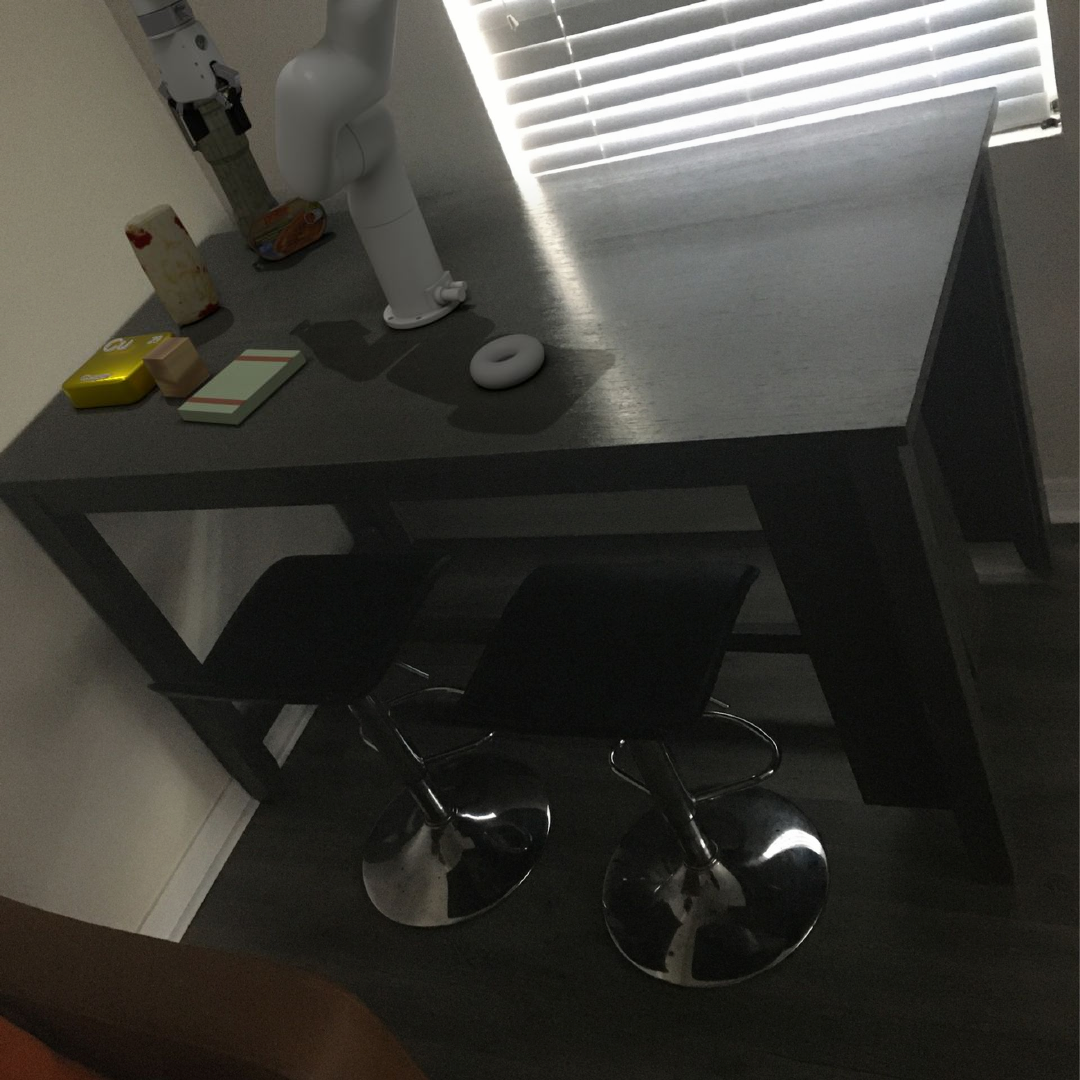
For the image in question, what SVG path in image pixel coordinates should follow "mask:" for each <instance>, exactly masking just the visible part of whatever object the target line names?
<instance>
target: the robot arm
mask: <svg viewBox="0 0 1080 1080" xmlns="http://www.w3.org/2000/svg"><path fill="white" fill-rule="evenodd" d="M128 2H129V5H130V6H131V9H132V10H133V13H134V15H135V17H136V19H137V20H138V23H139V25H140V26H141V29H142V31H143V33H144V34H145V36H146V40H147V43H148V46H149V49H150V53H151V55H152V57H153V60H154V62H155V65H156V67H157V70H158V72H159V74H160V77H161V78H162V81H161V83H160V85H159V86H158V88H157V89H158V92H159V93H160V95H161V96H162V97H163V98H164V99H165V100H166V101H167V105H168V104H169V105H170V106H171V107H172V108H174V109H175V110H176V112H177V114H178V115H179V116H180V118H181V119H182V121H183V123H184V125H185V127H186V129H187V131H188V133H189V135H190V137H191V139H192V141H193V142H197V141H199V140H201V139H202V138H204V137H206V136H207V135H209V133H210V131H209V129H208V127H207V125H206V123H205V121H204V119H203V117H202V115H201V113H200V111H199V109H198V108H196V109H194V107H195V101H201V100H207V99H211V98H214V97H215V98H216V99H217V100H218V101H219V102H220V103H222V104H223V105H224V106H225V107H226V108H227V109H226V110H224V111H225V113H226V116H227V118H228V120H229V122H230V124H231V126H232V128H233V130H234V132H235V134H236V135H237V136H239V135H242V134H243V133H245V134H246V132H248V131H249V130H251V129H252V128H253V127H252V126H253V125H252V123H251V120H250V118H249V116H248V114H247V112H246V109H245V108H244V106H243V103H242V102H243V96H242V94H243V87H242V82H241V75H240V72H239V71H237V70H235V69H233V68H231V67H228V65H227V62H226V61H225V59H224V57H223V55H222V53H221V51H220V49H219V48H218V46H217V44H216V42H215V41H214V39H213V38H212V35H211V34H210V33H209V32H208V30H207V28H206V26H205V25H204V24H203V23H202V21H201V20H200V19H197V18H196V17H195V14H194V11H193V9H192V7H191V6H190V3H189V1H188V0H128ZM399 3H400V0H327V1H326V23H325V30H324V34H323V36H322V38H321V39H320V40H319V41H318V42H317V43H315V45H313V46H312V47H310V48H308V49H307V50H305V51H303V52H301V53H300V54H298V55H297V56H295V57H293V58H292V59H291V60H290V61H289V62H287V63H286V64H285V65H284V67H282V70H281V71H280V73H279V75H278V78H277V81H276V84H275V92H274V93H275V94H274V95H275V96H274V105H275V106H274V108H275V111H274V112H275V113H274V114H275V116H274V117H275V155H276V161H277V164H278V166H277V167H278V169H279V173H280V175H281V178H282V179H283V181H284V183H285V186H286V187H287V188H288V189H289V190H290V191H291V192H292V193H293V194H294V195H295V197H299V198H301V199H303V200H306V201H310V202H319V203H320V202H322V201H323V202H324V201H325V200H327V199H330V198H331V197H333V196H335V195H337V194H338V193H339V192H341V191H342V190H344V189H345V188H346V202H347V208H348V212H349V214H350V217H351V220H352V222H353V224H354V227H355V229H356V232H357V233H358V236H359V239H360V240H361V243H362V245H363V247H364V250H365V252H366V254H367V256H368V259H369V261H370V263H371V266H372V268H373V270H374V272H375V275H376V278H377V280H378V282H379V284H380V287H381V289H382V291H383V293H384V296H385V298H386V300H387V302H388V305H387V306H386V307H385V309H384V311H383V319H384V322H385V324H386V325H387V326H388V327H389V328H392V329H394V330H395V329H396V330H409V329H410V330H411V329H415V328H418V327H423V326H425V325H428V324H431V323H433V322H436V321H438V320H440V319H441V318H443V317H445V316H447V315H448V314H450V313H451V312H452V311H453V310H454V309H456V308H457V307H458V306H459V305H460V303H461V302H464V301H465V300H466V297H467V293H466V291H467V289H468V284H467V282H466V281H465V280H461V281H454V278H453V277H452V275H451V271H450V270H444V268H443V266H442V263H441V260H440V258H439V255H438V253H437V250H436V247H435V245H434V242H433V239H432V237H431V234H430V233H429V230H428V227H427V224H426V222H425V219H424V216H423V213H422V212H421V208H420V207H419V204H418V201H417V198H416V195H415V193H414V191H413V188H412V185H411V183H410V180H409V176H408V174H407V171H406V168H405V164H404V160H403V157H402V152H401V151H402V150H401V148H400V142H399V137H398V136H399V135H398V130H397V127H396V125H395V124H396V123H395V121H394V118H393V116H392V115H391V113H390V111H389V110H388V108H387V107H386V106H385V105H384V103H383V102H382V101H381V100H382V99H383V98H384V97H385V96H386V95H388V92H389V90H390V86H391V83H392V76H393V66H394V57H395V45H396V36H397V22H398V11H399ZM225 94H227V96H226V95H225Z"/></svg>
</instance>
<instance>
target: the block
mask: <svg viewBox="0 0 1080 1080" xmlns="http://www.w3.org/2000/svg"><path fill="white" fill-rule="evenodd" d="M142 360H143V362H144V363H145V365H146V367H147V368H148V370H149V372H150V373H151V375H152V376H153V378H154V380H155V381H156V383H157V385H156V386H157V387H158V388H159V390H160V391H161V393H162V395H163V396H164V397H165V398H166V397H167V398H184V399H185V398H186V397H188V396H189V395H190V394H191V393H193V392H194V391H195V390H197V388H198V387H199V386H201V385H202V384H203V383H204V382H205V381H207V380H208V379H209V378H210V377H211V373H210V372H209V370H208V369H207V367H206V365H205V363H204V361H203V360H202V358H201V356H200V354H199V353H198V350H197V349H196V347H195V346H194V344H193V342H192V340H191V339H190V337H179V336H178V337H176V336H175V337H168V338H167V339H166V340H164V341H163V342H162V343H161V344H159V345H158V346H157V347H156V348H154V349H153V350H152V351H151V352H149V353H148V354H147V355H146V356H144V357H143V358H142Z"/></svg>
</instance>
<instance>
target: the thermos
mask: <svg viewBox="0 0 1080 1080" xmlns="http://www.w3.org/2000/svg"><path fill="white" fill-rule="evenodd" d="M167 106H168V108H169V110H170V112H171V114H172V116H173V118H174V120H175V122H176V124H177V125H178V128H179V130H180V131H181V134H182V136H183V138H184V139H185V141H186V143H187V145H188V146H189V148H190V150H191V151H192V152H193V153H195V152H199V153H201V155H202V157H203V158H204V161H206V162H207V163H208V164H209V166H211V169H212V170H213V173H214V175H215V177H216V178H217V181H218V183H219V184H220V187H221V189H222V191H223V193H224V194H225V197H226V199H227V201H228V202H229V205H230V207H231V209H232V214H233V217H234V220H235V223H236V225H237V227H238V229H239V231H240V233H241V234H242V237H244V238H245V240H246V242H247V245H248V247H249V248H250V249H253V247H252V246H251V244H250V241H249V228H250V225H251V223H252V222H253V220H254V219H255V218H256V217H258V216H259V215H261V214H263V213H265V212H267V211H269V210H271V209H273V208H275V207H277V206H279V205H280V203H279V201H278V200H277V199H276V198H275V197H274V196H273V194H272V193H271V191H270V189H269V186H268V185H267V182H266V180H265V178H264V176H263V173H262V172H261V169H260V168H259V165H258V164H257V161H256V159H255V157H254V155H253V153H252V151H251V149H250V141H249V138H248V137H247V134H246V132H245V133H243V134H242V135H239V136H237V135H236V134H235V132H234V130H233V128H232V126H231V124H230V122H229V120H228V118H227V116H226V113H225V111H224V110H226V109H227V108H226V107H225V106H224V105H223V104H222V103H220V102H219V101H218V100H217V99H216V98H215V97H214V98H211V99H207V100H201V101H195V107H194V109H196V108H198V109H199V111H200V113H201V115H202V117H203V119H204V121H205V123H206V125H207V127H208V129H209V131H210V133H209V135H207V136H206V137H204V138H202V139H201V140H199V141H197V142H195V141H193V139H192V137H191V135H190V133H189V131H188V129H187V127H186V125H185V123H184V121H183V119H182V117H180V116H179V115H178V114H177V112H176V110H175V109H174V108H172V107H171V106H170V105H169V104H168V103H167ZM194 142H195V143H194Z"/></svg>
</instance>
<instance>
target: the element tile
mask: <svg viewBox="0 0 1080 1080" xmlns="http://www.w3.org/2000/svg"><path fill="white" fill-rule="evenodd" d="M168 337H176V336H175V334H174V333H173V332H172V331H165V332H157V333H156V332H155V333H149V334H141V335H140V334H139V335H135V336H134V335H132V336H125V337H119V338H118V337H117V338H113V339H110V340H109V341H108V342H106V343H105V344H104V345H103V346H102V347H101V348H100V349H99V350H97V351H96V352H95V353H94V354H93V355H92V356H91V357H90V358H89V359H88V360H86V361H85V363H83V364H82V365H81V366H80V367H79V368H77V370H76V371H74V372H73V373H72V374H71V375H70V376H69V377H68V378H67V379H66V380H65V381H63V383H62V384H61V389H62V391H63V392H64V394H65V395H66V396H67V398H68V400H69V401H70V402H71V404H72V405H73V406H74V408H76V409H90V408H91V409H93V408H101V407H115V406H125V405H132V404H135V403H137V402H139V401H141V400H142V399H144V398H145V397H146V396H147V395H148V394H149V393H150V392H151V391H152V390H153V389H154V388H155V387H156V386H158V385H157V383H156V381H155V380H154V378H153V376H152V375H151V373H150V372H149V370H148V368H147V367H146V365H145V363H144V362H143V360H142V358H143V357H144V356H146V355H147V354H148V353H149V352H151V351H152V350H153V349H154V348H156V347H157V346H158V345H159V344H161V343H162V342H163V341H164V340H166V339H167V338H168Z"/></svg>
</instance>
